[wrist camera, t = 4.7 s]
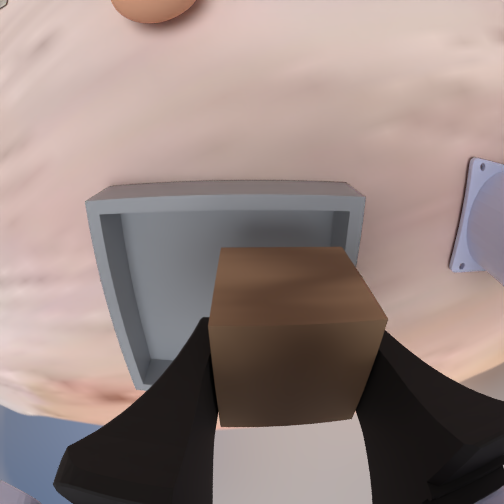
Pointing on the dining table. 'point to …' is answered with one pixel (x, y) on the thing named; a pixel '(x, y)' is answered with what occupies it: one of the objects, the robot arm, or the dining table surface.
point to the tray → (199, 249)
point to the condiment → (2, 3)
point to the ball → (151, 9)
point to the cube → (291, 335)
